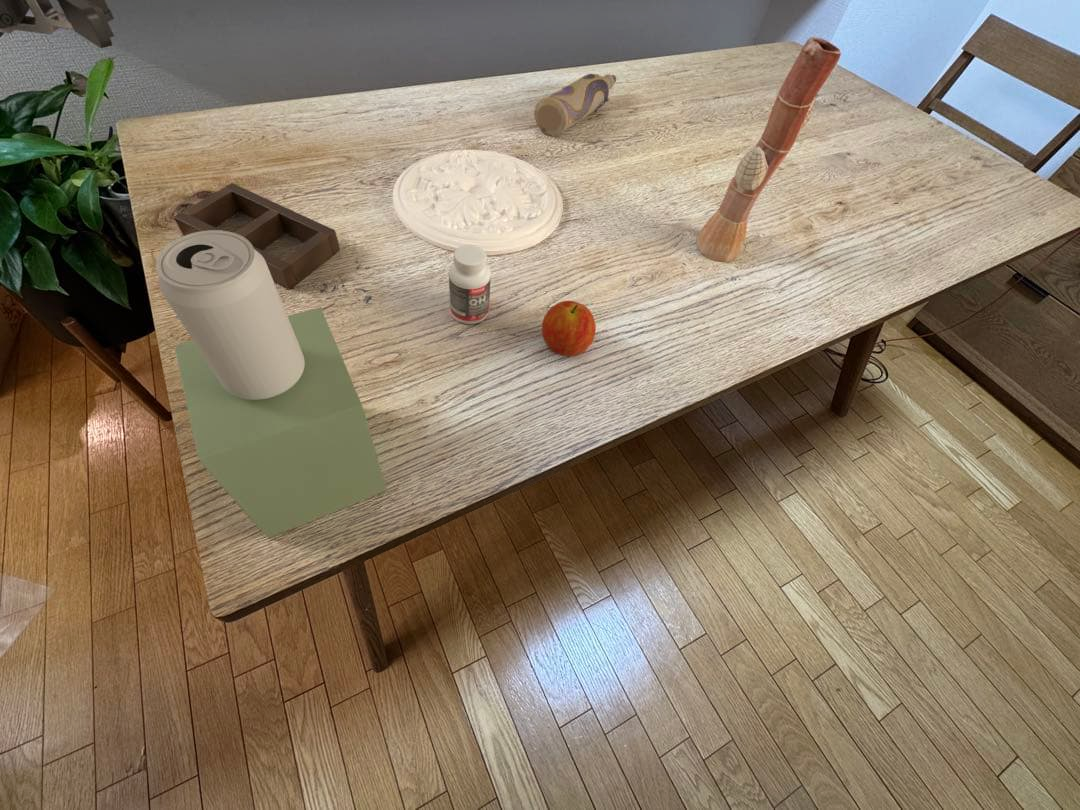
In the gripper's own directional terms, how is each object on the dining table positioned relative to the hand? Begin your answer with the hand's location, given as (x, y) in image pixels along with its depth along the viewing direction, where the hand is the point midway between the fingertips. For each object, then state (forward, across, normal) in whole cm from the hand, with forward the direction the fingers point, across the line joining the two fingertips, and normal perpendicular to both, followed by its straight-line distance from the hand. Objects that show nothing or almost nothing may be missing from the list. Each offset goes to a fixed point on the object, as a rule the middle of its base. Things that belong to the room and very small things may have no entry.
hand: (28, 46), depth 32 cm
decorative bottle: (-10, +86, +35) cm, 93 cm away
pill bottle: (+11, +28, +35) cm, 46 cm away
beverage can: (+15, -1, +19) cm, 24 cm away
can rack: (-19, +17, +35) cm, 43 cm away
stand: (+15, -1, +35) cm, 38 cm away
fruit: (+25, +32, +35) cm, 53 cm away
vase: (+31, +68, +35) cm, 83 cm away
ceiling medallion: (-5, +48, +35) cm, 60 cm away
